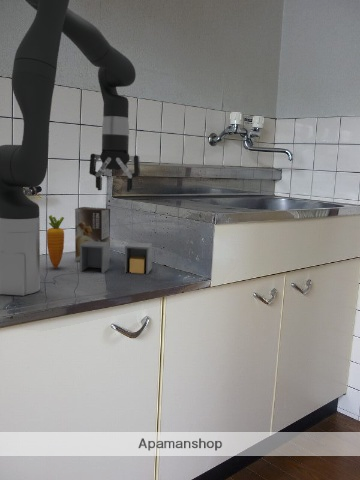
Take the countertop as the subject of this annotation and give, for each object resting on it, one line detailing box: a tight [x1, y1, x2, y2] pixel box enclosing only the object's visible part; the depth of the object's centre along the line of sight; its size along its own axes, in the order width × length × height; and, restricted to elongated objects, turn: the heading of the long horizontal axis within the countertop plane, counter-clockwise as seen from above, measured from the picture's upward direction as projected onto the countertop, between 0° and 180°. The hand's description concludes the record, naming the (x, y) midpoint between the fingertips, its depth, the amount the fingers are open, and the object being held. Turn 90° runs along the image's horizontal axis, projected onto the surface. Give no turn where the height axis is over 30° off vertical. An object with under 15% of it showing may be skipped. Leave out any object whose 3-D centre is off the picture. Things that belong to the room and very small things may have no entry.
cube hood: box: [124, 241, 153, 275], centre depth 138 cm, size 6×6×8 cm
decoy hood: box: [79, 241, 110, 274], centre depth 138 cm, size 6×6×8 cm
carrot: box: [46, 214, 65, 269], centre depth 137 cm, size 5×5×15 cm
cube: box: [129, 256, 147, 274], centre depth 138 cm, size 4×4×4 cm
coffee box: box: [74, 206, 111, 262], centre depth 149 cm, size 9×6×16 cm
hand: (114, 191), depth 143 cm, fingers open, 8 cm apart
